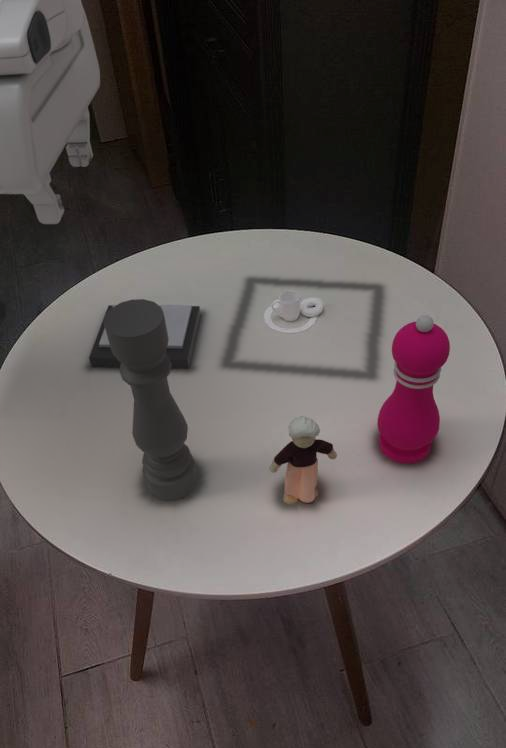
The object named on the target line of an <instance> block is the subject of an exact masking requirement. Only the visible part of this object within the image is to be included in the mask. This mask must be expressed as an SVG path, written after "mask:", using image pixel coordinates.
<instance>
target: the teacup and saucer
mask: <svg viewBox="0 0 506 748" xmlns="http://www.w3.org/2000/svg"><path fill="white" fill-rule="evenodd" d="M278 298H279V299H275V300H274V301H272V303H271V305H269V306H268V307H267V308H266V310H265V311H264V314H263V321H264V323H265V325H266V326H267V327H268V328H270V329H271V330H273V331H275V332H278V333H280V334H281V333H282V334H298V333H301V332H304V331H307V330H308V329H311V328H312V327H313V326H314V325H315V324H316V322H317V319H318V316H320V314H321V313H322V312H323V310H324V308H325V303H324V301H323V299H321V298H318V297H308V298H305V299H304V300H302V297H301V293H300V292H298V291H296V290H291V289H289V290H284V291H282V292H281V293H280V294H279V297H278ZM314 306H315V307H314ZM279 307H280V308H279ZM278 308H279V309H280V312H278V311H277V309H278ZM273 312H274V313H275V314H276V315H278V316H279V317H281V318H282V319H283V320H284V321H286V322H294V321H297V320H298V318H299V316H300V314H301V315H302V316H304V317H307V318H309V320H308V321H307V323H305V324H304V325H302V326H300V327H296V328H284V327H280V326H278V325H276V324H275V323H274V322H273V320H272V314H273Z"/></svg>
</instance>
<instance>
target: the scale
mask: <svg viewBox="0 0 506 748" xmlns="http://www.w3.org/2000/svg"><path fill="white" fill-rule="evenodd" d="M116 305H117V304H110V305H107V308H106V311H105V314H104V316H103V319H102V322H101V324H100V327H99V330H98V333H97V335H96V337H95V340H94V343H93V345H92V348H91V351H90V354H89V357H88V359H89V362H90V366H91V368H120V365H121V362H120V361H118V360H117V357H115V356H114V355H113V353H112V350H111V348H110V344H109V341H108V337H107V333H106V330H105V326H104V323H103V321H104V318H105V315H106V313H107V312H108V311H109V310H110V309H111V308H112V307H114V306H116ZM158 305H159V306H161V308H162V310H163V313H164V317H165V322H166V327H167V333H168V338H169V340H168V346H167V349H166V353H165V354H166V355H167V356H168V357H169V359H170V362H171V369H180V370H183V369H184V370H186V369H188V370H189V369H190V366H191V361H192V356H193V351H194V348H195V343H196V340H197V339H196V338H197V334H198V329H199V325H200V321H201V316H202V315H201V307H200V305H191V304H158Z"/></svg>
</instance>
